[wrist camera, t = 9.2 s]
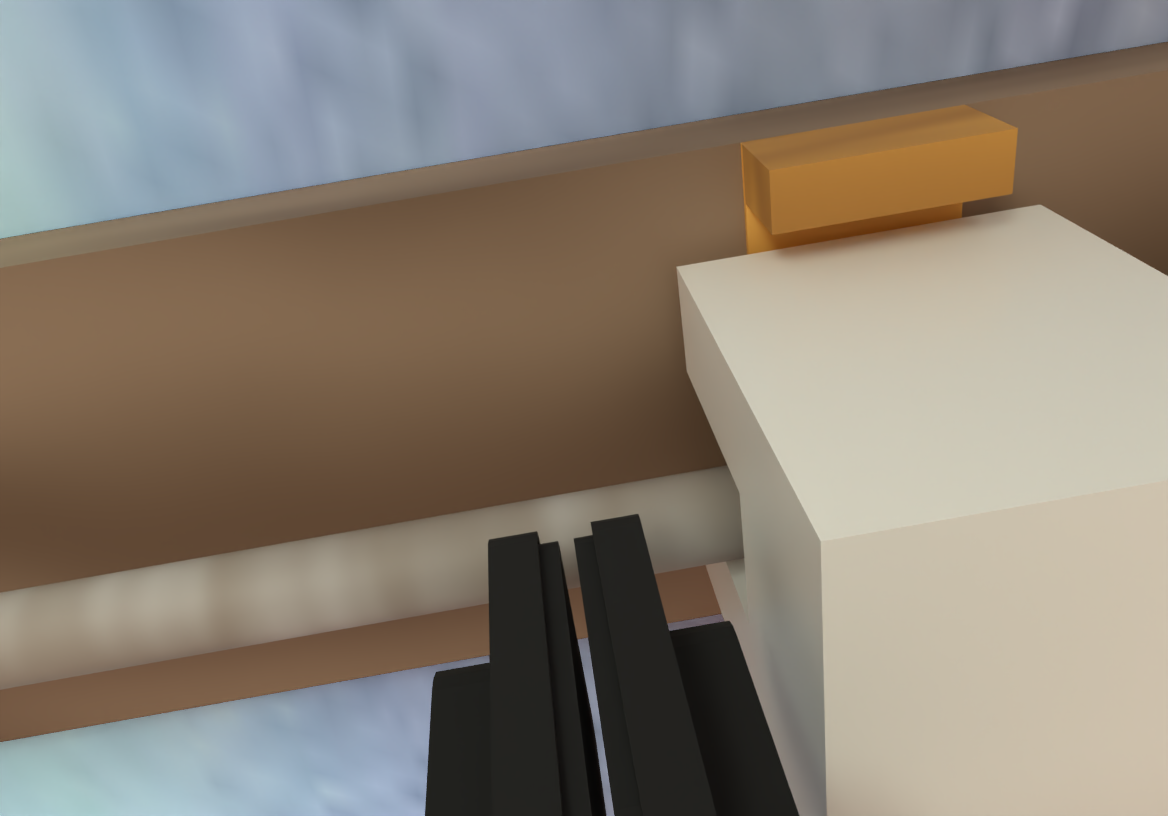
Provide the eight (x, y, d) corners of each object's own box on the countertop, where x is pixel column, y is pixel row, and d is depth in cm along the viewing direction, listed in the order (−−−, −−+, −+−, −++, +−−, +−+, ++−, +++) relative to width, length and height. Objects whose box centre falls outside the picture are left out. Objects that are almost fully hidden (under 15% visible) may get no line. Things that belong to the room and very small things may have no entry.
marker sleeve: (676, 267, 13) (820, 540, 7) (1039, 204, 13) (1444, 430, 7) (706, 567, 15) (829, 933, 10) (1009, 514, 15) (1292, 847, 10)
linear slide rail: (-1219, 444, 13) (-2895, 994, 7) (1551, -23, 14) (2510, 57, 7) (-743, 815, 17) (-1497, 1388, 11) (1397, 437, 18) (1932, 756, 11)
